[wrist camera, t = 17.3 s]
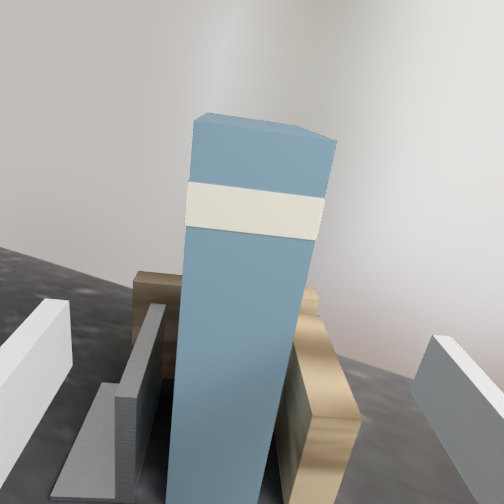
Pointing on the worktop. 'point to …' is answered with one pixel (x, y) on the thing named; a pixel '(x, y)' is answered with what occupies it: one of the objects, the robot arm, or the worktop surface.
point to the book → (240, 298)
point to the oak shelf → (283, 394)
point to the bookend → (118, 426)
